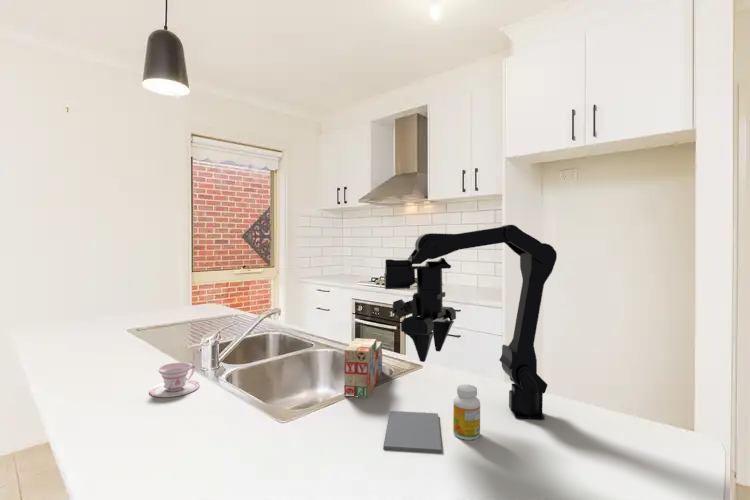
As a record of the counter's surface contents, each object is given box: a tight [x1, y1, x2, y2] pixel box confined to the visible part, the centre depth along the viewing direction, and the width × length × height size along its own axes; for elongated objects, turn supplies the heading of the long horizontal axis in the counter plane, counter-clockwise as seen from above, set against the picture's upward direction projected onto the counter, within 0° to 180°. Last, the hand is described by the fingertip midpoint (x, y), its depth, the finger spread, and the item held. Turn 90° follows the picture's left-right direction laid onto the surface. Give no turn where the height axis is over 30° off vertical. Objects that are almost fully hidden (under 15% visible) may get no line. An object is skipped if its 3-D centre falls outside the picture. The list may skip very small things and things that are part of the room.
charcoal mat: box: [382, 410, 443, 454], centre depth 85 cm, size 11×16×1 cm
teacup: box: [149, 361, 201, 398], centre depth 108 cm, size 12×12×6 cm
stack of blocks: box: [343, 337, 383, 399], centre depth 113 cm, size 21×6×12 cm, turn 169°
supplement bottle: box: [452, 383, 481, 441], centre depth 83 cm, size 5×5×10 cm
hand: (430, 356), depth 93 cm, fingers open, 9 cm apart
